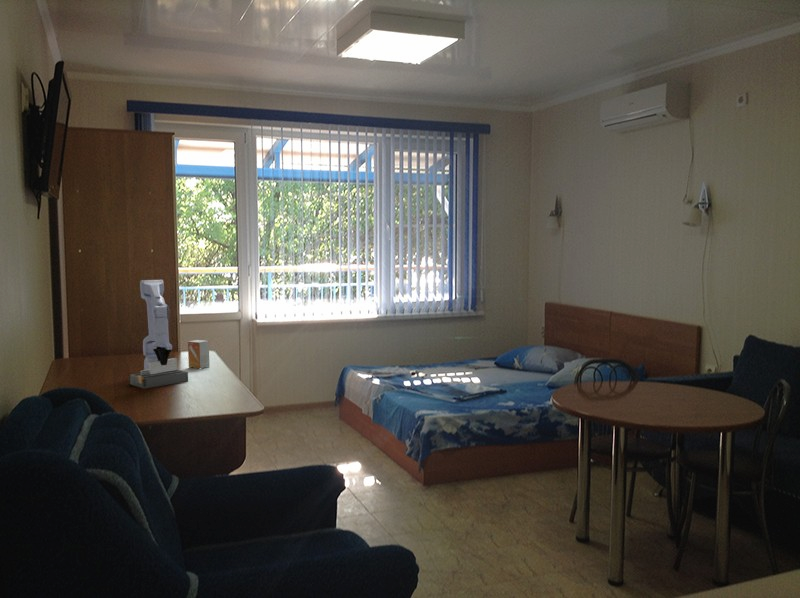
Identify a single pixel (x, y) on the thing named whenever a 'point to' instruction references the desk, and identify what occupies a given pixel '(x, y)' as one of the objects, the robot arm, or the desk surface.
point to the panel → (162, 366)
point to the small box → (198, 353)
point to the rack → (158, 378)
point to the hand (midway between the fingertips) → (162, 364)
